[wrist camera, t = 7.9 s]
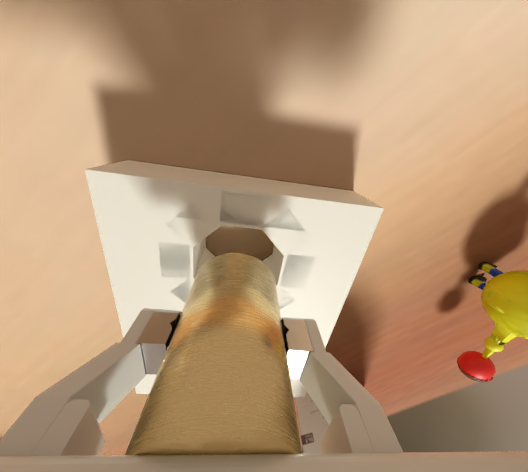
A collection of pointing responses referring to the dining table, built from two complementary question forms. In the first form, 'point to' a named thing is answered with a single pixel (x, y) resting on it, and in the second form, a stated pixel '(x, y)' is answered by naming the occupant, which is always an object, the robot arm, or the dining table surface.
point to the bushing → (223, 370)
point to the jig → (228, 214)
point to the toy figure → (498, 318)
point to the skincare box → (310, 424)
